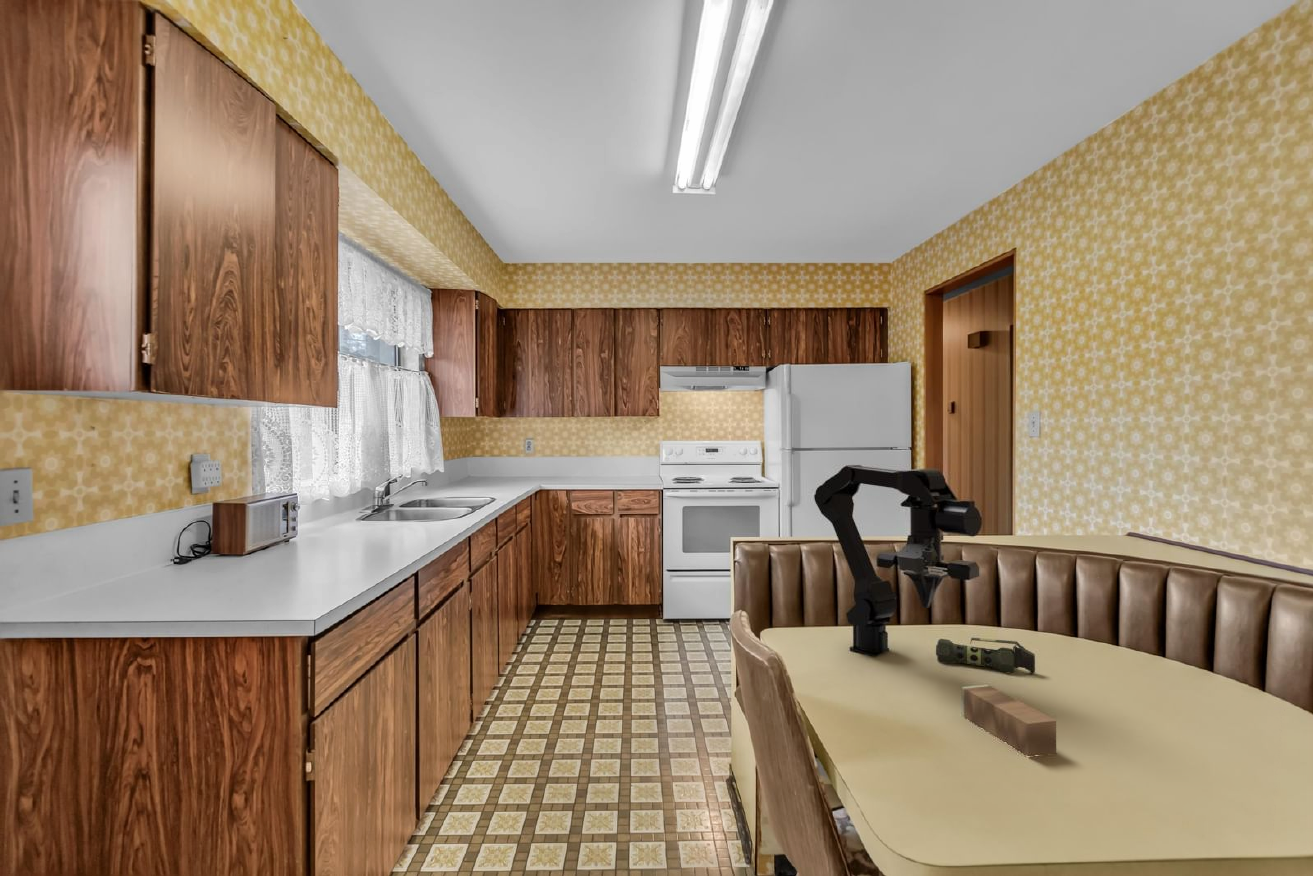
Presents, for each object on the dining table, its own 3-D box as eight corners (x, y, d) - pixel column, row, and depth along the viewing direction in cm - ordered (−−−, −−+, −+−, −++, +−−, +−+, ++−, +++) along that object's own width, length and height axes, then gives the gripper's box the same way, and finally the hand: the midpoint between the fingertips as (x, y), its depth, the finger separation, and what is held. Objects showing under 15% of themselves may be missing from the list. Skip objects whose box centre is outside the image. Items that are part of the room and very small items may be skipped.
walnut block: (961, 687, 104) (1027, 723, 90) (987, 684, 105) (1055, 720, 91) (961, 716, 104) (1027, 758, 90) (987, 713, 105) (1056, 754, 91)
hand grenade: (937, 656, 134) (1034, 671, 125) (935, 664, 129) (1035, 680, 120) (937, 628, 134) (1034, 641, 125) (935, 634, 129) (1035, 648, 120)
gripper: (863, 529, 126) (863, 605, 126) (957, 539, 113) (958, 624, 112) (888, 524, 134) (889, 596, 134) (980, 533, 120) (980, 613, 120)
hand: (926, 607), depth 125 cm, fingers closed
